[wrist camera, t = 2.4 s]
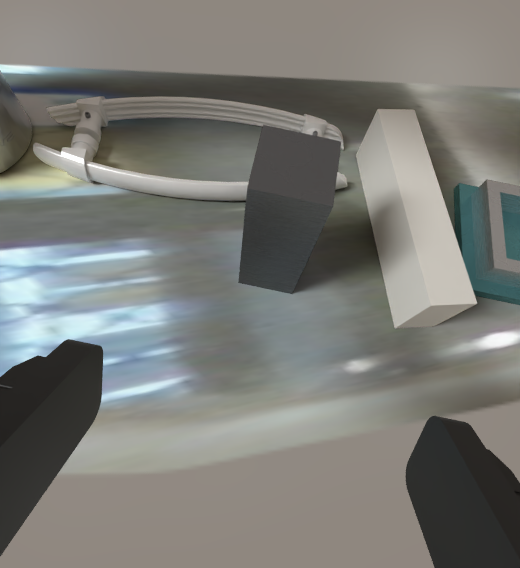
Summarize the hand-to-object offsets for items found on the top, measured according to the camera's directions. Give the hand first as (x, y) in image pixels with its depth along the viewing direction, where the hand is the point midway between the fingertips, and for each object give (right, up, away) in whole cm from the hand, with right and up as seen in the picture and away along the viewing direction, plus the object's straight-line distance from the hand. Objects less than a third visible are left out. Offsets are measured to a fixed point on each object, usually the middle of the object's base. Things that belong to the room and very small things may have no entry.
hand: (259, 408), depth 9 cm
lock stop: (+1, +5, +19) cm, 19 cm away
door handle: (-5, +14, +23) cm, 27 cm away
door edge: (+11, +7, +21) cm, 24 cm away
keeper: (+21, +6, +21) cm, 30 cm away
